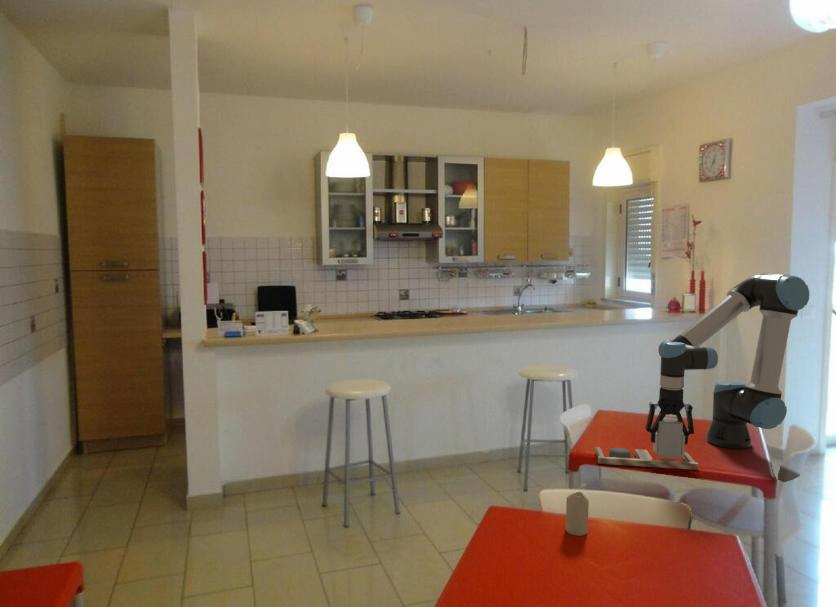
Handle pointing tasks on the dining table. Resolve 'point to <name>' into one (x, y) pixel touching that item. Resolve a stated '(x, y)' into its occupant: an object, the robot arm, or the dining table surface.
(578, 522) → the candle
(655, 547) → the dining table surface
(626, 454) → the puck
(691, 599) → the dining table surface
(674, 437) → the grey cylinder
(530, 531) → the dining table surface
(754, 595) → the dining table surface
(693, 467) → the slot rack
